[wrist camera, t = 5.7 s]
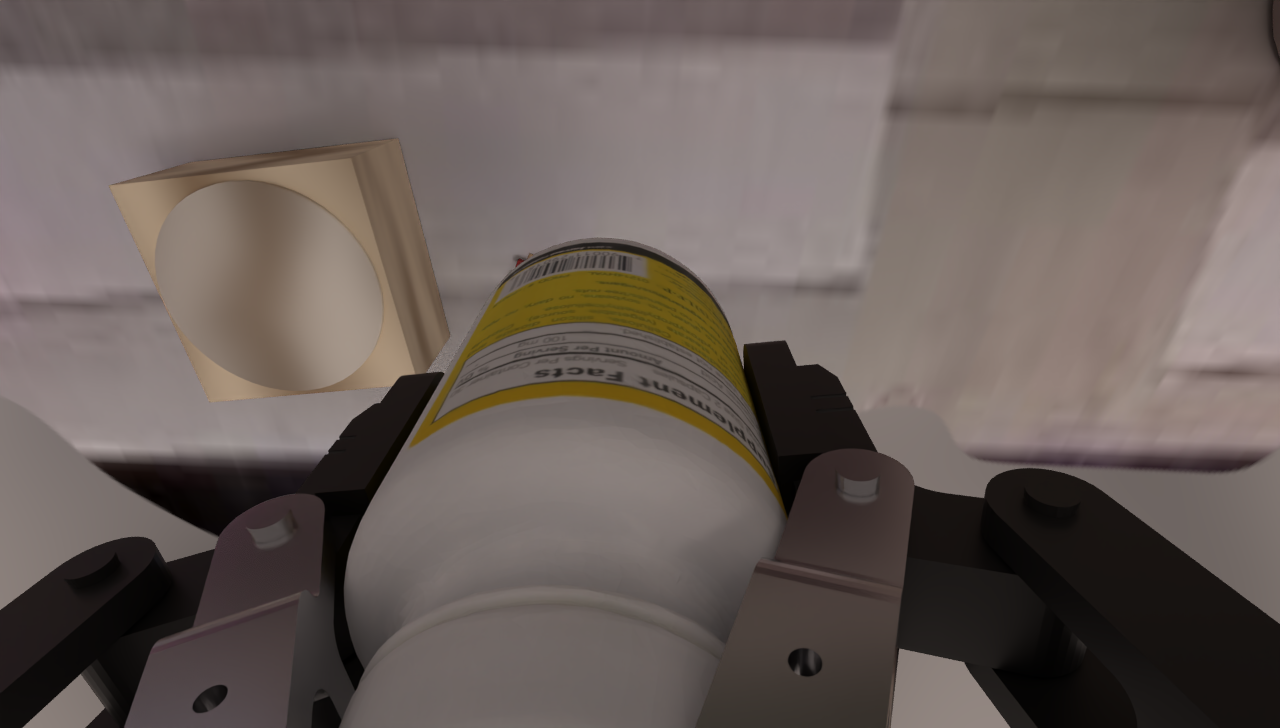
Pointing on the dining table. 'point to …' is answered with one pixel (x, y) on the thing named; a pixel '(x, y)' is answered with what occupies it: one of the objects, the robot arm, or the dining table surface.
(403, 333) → the pedestal
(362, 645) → the supplement bottle
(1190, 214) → the dining table surface
